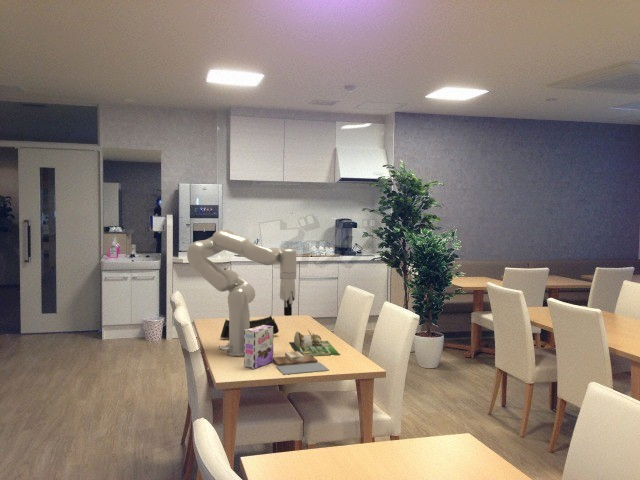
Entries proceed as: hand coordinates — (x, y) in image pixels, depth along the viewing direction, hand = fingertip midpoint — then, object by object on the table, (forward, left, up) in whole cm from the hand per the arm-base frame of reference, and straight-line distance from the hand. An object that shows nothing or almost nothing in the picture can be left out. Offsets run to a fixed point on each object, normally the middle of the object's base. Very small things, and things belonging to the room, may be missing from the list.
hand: (287, 315), depth 260 cm
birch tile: (0, -10, -17) cm, 20 cm away
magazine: (-8, +42, -19) cm, 47 cm away
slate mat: (0, -22, -19) cm, 29 cm away
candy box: (-16, -10, -19) cm, 27 cm away
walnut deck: (0, -11, -19) cm, 22 cm away
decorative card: (+16, +12, -20) cm, 28 cm away
